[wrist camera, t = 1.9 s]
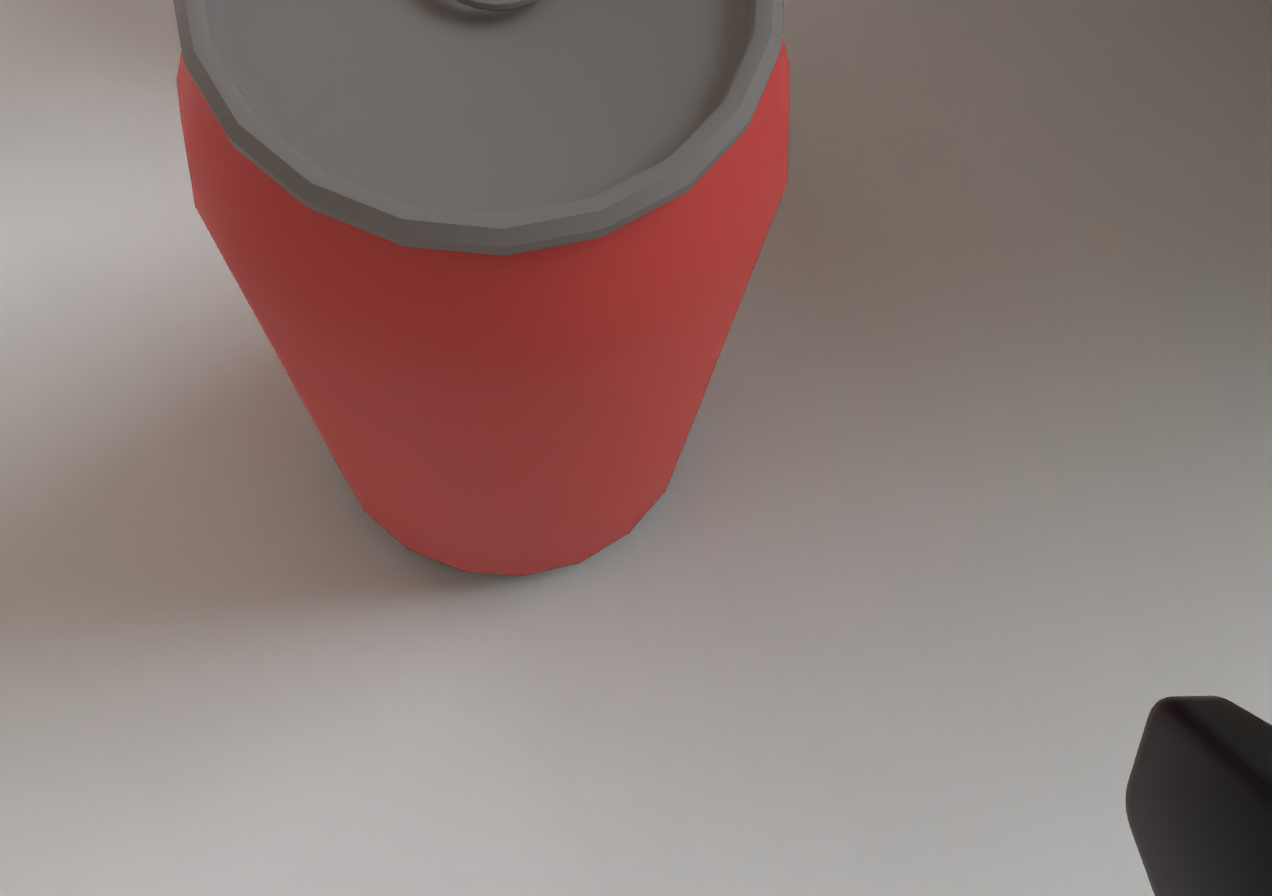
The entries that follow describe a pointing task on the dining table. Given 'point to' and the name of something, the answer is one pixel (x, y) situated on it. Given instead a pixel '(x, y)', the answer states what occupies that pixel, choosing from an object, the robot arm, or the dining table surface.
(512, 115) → the beer can
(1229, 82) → the dining table surface
